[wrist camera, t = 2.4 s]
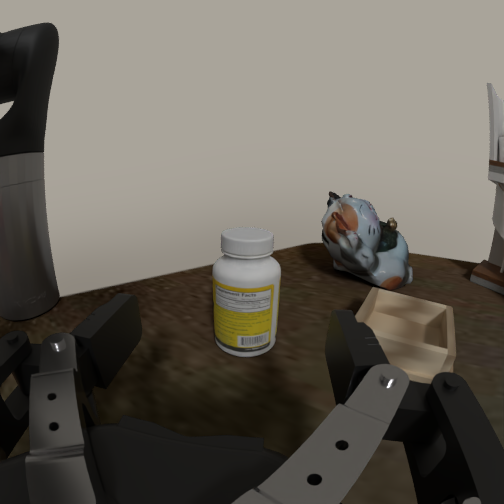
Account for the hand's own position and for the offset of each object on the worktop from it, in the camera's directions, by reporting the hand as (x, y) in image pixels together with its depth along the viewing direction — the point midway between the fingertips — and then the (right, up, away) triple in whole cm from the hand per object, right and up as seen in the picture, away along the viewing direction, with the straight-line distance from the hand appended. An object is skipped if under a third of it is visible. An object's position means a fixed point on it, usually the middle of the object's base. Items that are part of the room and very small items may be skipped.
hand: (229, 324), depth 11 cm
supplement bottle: (0, -5, +14) cm, 15 cm away
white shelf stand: (+46, -3, +26) cm, 53 cm away
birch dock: (+15, -6, +13) cm, 21 cm away
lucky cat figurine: (+18, -1, +30) cm, 35 cm away
